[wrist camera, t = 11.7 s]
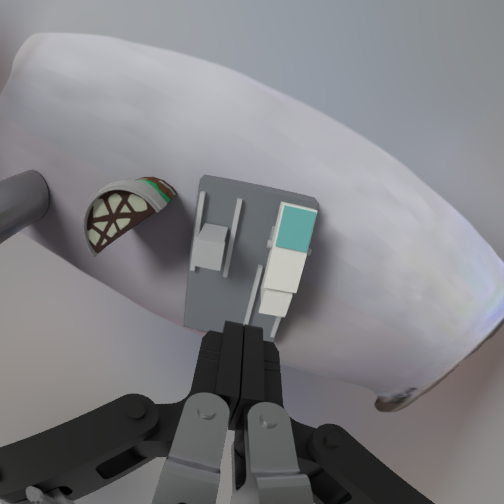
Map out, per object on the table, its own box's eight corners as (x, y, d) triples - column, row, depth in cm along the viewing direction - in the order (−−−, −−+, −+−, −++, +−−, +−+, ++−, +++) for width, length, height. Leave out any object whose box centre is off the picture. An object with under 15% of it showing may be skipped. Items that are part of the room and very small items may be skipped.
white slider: (259, 288, 39) (258, 312, 34) (264, 267, 37) (264, 291, 32) (282, 292, 39) (285, 317, 34) (288, 272, 38) (292, 295, 33)
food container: (162, 150, 34) (130, 161, 25) (185, 187, 36) (161, 209, 27) (102, 197, 37) (64, 220, 28) (123, 229, 39) (91, 259, 30)
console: (187, 315, 46) (180, 336, 41) (204, 174, 35) (195, 183, 30) (272, 331, 47) (273, 353, 42) (314, 197, 36) (323, 209, 31)
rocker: (257, 280, 34) (258, 287, 32) (275, 200, 31) (278, 201, 29) (298, 287, 34) (301, 295, 32) (318, 209, 32) (323, 212, 30)
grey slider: (200, 244, 36) (191, 265, 31) (203, 221, 35) (194, 238, 30) (225, 249, 36) (219, 270, 31) (229, 226, 35) (224, 244, 30)
